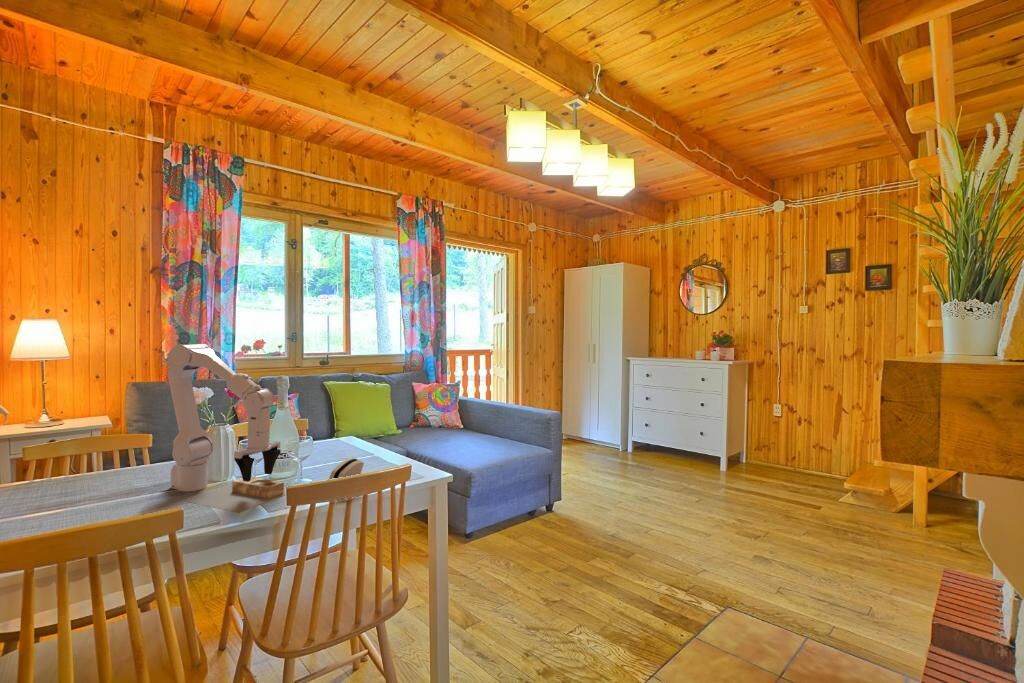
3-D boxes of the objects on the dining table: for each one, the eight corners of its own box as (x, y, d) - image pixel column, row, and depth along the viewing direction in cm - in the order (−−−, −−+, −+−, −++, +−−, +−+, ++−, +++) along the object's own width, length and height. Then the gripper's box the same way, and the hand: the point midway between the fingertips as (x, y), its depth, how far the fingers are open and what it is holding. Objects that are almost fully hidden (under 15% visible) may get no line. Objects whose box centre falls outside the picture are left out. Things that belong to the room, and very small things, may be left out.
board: (179, 505, 137) (180, 491, 137) (247, 483, 157) (247, 470, 157) (239, 518, 129) (239, 503, 129) (302, 493, 150) (302, 480, 150)
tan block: (232, 491, 145) (232, 481, 145) (247, 486, 150) (248, 476, 150) (268, 498, 140) (268, 487, 140) (283, 492, 145) (283, 482, 145)
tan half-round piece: (344, 478, 165) (354, 451, 164) (357, 484, 164) (367, 457, 164) (317, 495, 148) (329, 464, 148) (331, 501, 148) (343, 471, 147)
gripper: (247, 437, 137) (246, 486, 137) (288, 428, 150) (287, 472, 151) (229, 434, 139) (228, 482, 139) (270, 425, 153) (269, 469, 153)
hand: (257, 477), depth 145 cm, fingers open, 7 cm apart
